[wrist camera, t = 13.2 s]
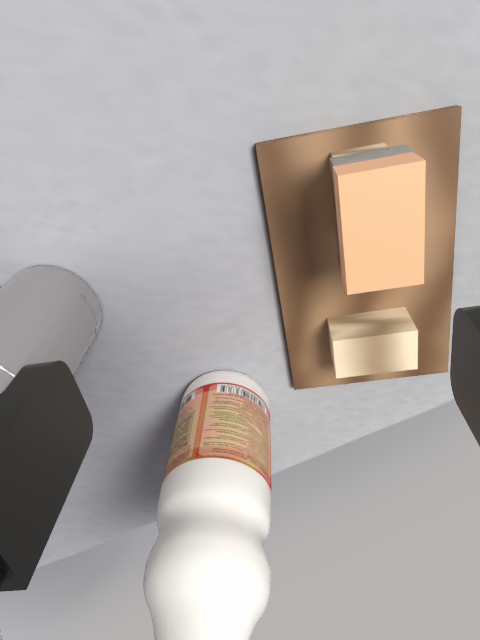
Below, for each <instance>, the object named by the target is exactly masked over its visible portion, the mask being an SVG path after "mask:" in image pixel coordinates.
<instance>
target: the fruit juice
mask: <svg viewBox="0 0 480 640" xmlns="http://www.w3.org/2000/svg"><path fill="white" fill-rule="evenodd" d="M271 513H272V495H271V444H270V407H269V402H268V398H267V395H266V393H265V391H264V390H263V388H262V387H261V386H260V385H259V384H258V383H257V382H256V381H255V380H254V379H252V378H251V377H249V376H247V375H245V374H242V373H239V372H235V371H228V370H219V371H213V372H209V373H206V374H204V375H202V376H200V377H198V378H197V379H195V380H194V381H193V382H192V383H191V384H190V385H189V387H188V388H187V389H186V391H185V393H184V396H183V398H182V401H181V406H180V410H179V414H178V419H177V423H176V427H175V432H174V436H173V440H172V445H171V449H170V453H169V458H168V462H167V466H166V471H165V475H164V479H163V483H162V487H161V491H160V496H159V503H158V510H157V526H158V530H159V536H158V538H157V540H156V542H155V544H154V546H153V547H152V549H151V551H150V554H149V556H148V559H147V562H146V567H145V573H144V582H143V583H144V584H143V585H144V586H143V587H144V595H145V600H146V603H147V605H148V608H149V611H150V614H151V618H152V623H153V629H154V636H155V640H249V639H250V636H251V634H252V631H253V629H254V627H255V625H256V624H257V622H258V620H259V619H260V617H261V616H262V614H263V612H264V610H265V608H266V606H267V603H268V600H269V596H270V587H271V570H270V564H269V560H268V557H267V553H266V550H265V546H264V543H265V541H266V539H267V537H268V534H269V530H270V525H271Z"/></svg>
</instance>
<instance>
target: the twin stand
mask: <svg viewBox="0 0 480 640" xmlns="http://www.w3.org/2000/svg"><path fill="white" fill-rule="evenodd" d="M461 109H462V107H461V106H457V105H456V106H450V107H445V108H440V109H434V110H429V111H424V112H418V113H413V114H408V115H402V116H397V117H392V118H386V119H381V120H376V121H370V122H365V123H360V124H354V125H349V126H344V127H338V128H333V129H328V130H322V131H317V132H312V133H306V134H301V135H296V136H290V137H285V138H280V139H274V140H269V141H263V142H258V143H256V152H257V158H258V164H259V170H260V177H261V183H262V189H263V195H264V202H265V208H266V214H267V221H268V227H269V233H270V239H271V246H272V252H273V258H274V264H275V271H276V277H277V283H278V290H279V296H280V302H281V308H282V315H283V321H284V327H285V333H286V340H287V346H288V352H289V359H290V365H291V371H292V377H293V384H294V390H296V389H305V388H314V387H322V386H331V385H340V384H348V383H357V382H366V381H374V380H383V379H392V378H400V377H409V376H418V375H426V374H435V373H444V372H448V356H449V337H450V318H451V299H452V280H453V261H454V242H455V223H456V204H457V185H458V166H459V147H460V128H461ZM403 144H405V145H407V146H408V147H409V148H411V149H412V150H414V151H415V153H416V154H417V155H419V156H420V157H422V158H423V159H424V160H426V171H425V245H424V284H420V285H413V286H406V287H399V288H392V289H385V290H378V291H371V292H364V293H357V294H350V295H347V292H346V289H345V286H344V283H343V281H342V274H341V270H340V267H339V263H338V251H337V240H336V228H335V217H334V206H333V194H332V183H331V171H330V160H329V158H333V157H338V156H343V155H349V154H354V153H360V152H365V151H371V150H376V149H382V148H387V147H392V146H398V145H403Z"/></svg>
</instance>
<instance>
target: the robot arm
mask: <svg viewBox="0 0 480 640" xmlns="http://www.w3.org/2000/svg"><path fill="white" fill-rule="evenodd" d="M101 323H102V309H101V306H100V302H99V300H98V298H97V296H96V294H95V293H94V292H93V290H92V289H91V288H90V286H89V285H88V284H86V283H85V282H84V281H83V280H82V279H81V278H79V277H78V276H76V275H75V274H73V273H71V272H69V271H67V270H64V269H62V268H58V267H54V266H45V265H39V266H33V267H29V268H27V269H24V270H22V271H20V272H19V273H18V274H17V275H15V276H14V277H13V278H12V279H11V280H10V281H9V282H7V283H6V284H5V285H4V286H3V287H0V591H14V590H26V589H27V587H28V585H29V582H30V580H31V578H32V576H33V573H34V571H35V569H36V566H37V564H38V562H39V560H40V557H41V555H42V553H43V550H44V548H45V546H46V544H47V541H48V539H49V537H50V534H51V532H52V530H53V528H54V525H55V523H56V521H57V518H58V516H59V514H60V512H61V509H62V507H63V505H64V502H65V500H66V498H67V496H68V493H69V491H70V489H71V486H72V484H73V482H74V480H75V477H76V475H77V473H78V470H79V468H80V466H81V464H82V461H83V459H84V457H85V454H86V452H87V450H88V448H89V445H90V443H91V440H92V434H93V424H92V418H91V414H90V412H89V410H88V408H87V405H86V403H85V401H84V399H83V397H82V394H81V392H80V390H79V388H78V386H77V384H76V381H75V379H74V377H73V375H74V373H75V372H76V370H77V368H78V366H79V365H80V363H81V361H82V359H83V358H84V356H85V354H86V353H87V351H88V349H89V347H90V346H91V344H92V342H93V340H94V339H95V337H96V335H97V333H98V331H99V330H100V328H101ZM450 377H451V386H452V391H453V395H454V398H455V401H456V403H457V405H458V407H459V409H460V411H461V413H462V415H463V416H464V418H465V420H466V422H467V424H468V426H469V427H470V429H471V431H472V433H473V435H474V437H475V438H476V440H477V442H478V444H479V446H480V306H474V307H466V308H459V309H457V310H456V311H455V314H454V319H453V335H452V353H451V370H450ZM0 640H2V637H1V631H0Z"/></svg>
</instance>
